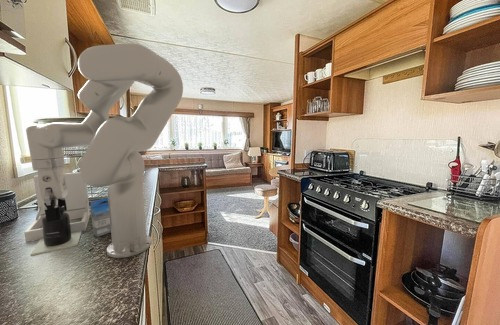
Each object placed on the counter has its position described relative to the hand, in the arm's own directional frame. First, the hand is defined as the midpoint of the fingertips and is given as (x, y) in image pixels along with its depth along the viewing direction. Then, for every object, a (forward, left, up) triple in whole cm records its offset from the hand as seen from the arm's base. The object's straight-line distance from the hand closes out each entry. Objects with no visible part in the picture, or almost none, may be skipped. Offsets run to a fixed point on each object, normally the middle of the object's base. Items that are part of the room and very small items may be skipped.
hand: (57, 215), depth 70 cm
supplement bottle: (0, +1, -9) cm, 9 cm away
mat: (+1, +1, -9) cm, 9 cm away
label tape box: (+2, -13, -10) cm, 16 cm away
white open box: (+16, +2, -9) cm, 18 cm away
